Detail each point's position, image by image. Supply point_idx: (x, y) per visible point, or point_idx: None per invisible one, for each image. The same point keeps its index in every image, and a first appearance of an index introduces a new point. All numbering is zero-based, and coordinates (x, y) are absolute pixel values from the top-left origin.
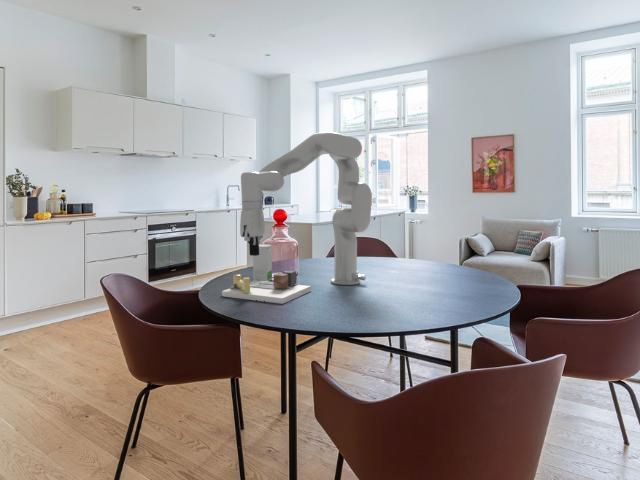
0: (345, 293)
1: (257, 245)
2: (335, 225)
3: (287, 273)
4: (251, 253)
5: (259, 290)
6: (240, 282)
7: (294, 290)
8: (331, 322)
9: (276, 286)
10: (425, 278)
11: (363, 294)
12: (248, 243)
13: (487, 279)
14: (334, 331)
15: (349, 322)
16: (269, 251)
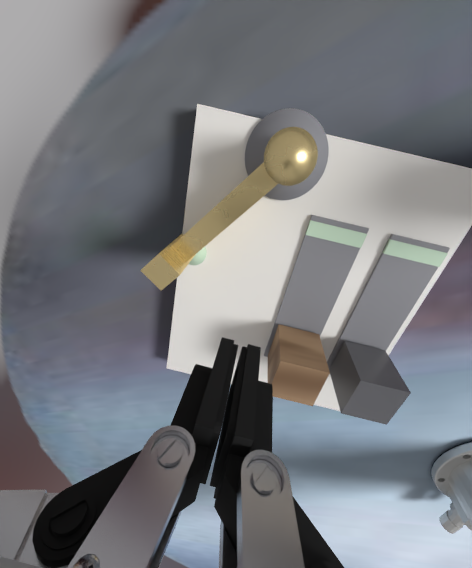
0: (323, 464)
1: (211, 483)
2: None
3: (347, 396)
4: (196, 367)
5: (250, 276)
6: (207, 213)
7: None
8: (83, 445)
9: (275, 338)
10: None
11: (317, 490)
12: (146, 445)
13: None
14: (43, 449)
15: (98, 465)
16: None
